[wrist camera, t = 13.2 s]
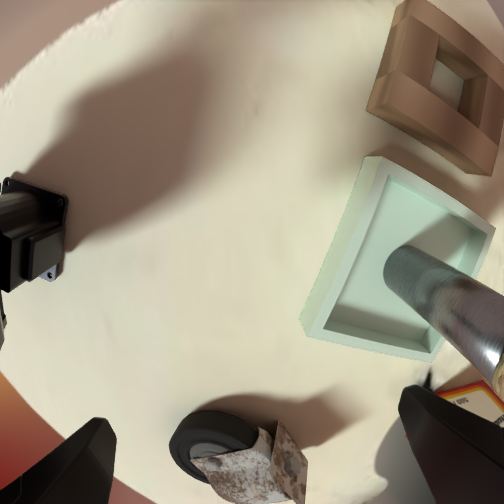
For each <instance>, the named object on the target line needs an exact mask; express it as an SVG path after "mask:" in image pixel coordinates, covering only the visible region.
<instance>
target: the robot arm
mask: <svg viewBox="0 0 504 504" xmlns="http://www.w3.org/2000/svg"><path fill="white" fill-rule="evenodd" d="M8 181H9V186H8ZM0 192H1V183H0ZM60 199H61V200H62V201H63V204H62V205H61V204H60ZM67 207H68V198H67V197H66V196H65V195H63V194H60V193H57V192H55V191H52V190H49V189H46V188H43V187H40V186H37V185H34V184H31V183H28V182H25V181H22V180H19V179H16V178H13V177H6V178H5V179H4V181H3V186H2V192H1V195H0V350H1V347H2V345H3V342H4V328H5V326H6V324H7V321H6V315H5V314H4V310H3V303H2V294H1V290H3V291H5V292H7V293H9V292H11V291H12V290H14V289H15V288H16V287H18V286H19V285H21V284H22V283H24V282H25V281H28V282H31V281H32V280H34V279H35V278H37V277H38V276H39V277H41V278H43V279H45V280H47V281H50V282H52V281H54V280H55V279H56V278H57V276H58V266H59V262H60V261H61V256H62V248H63V241H64V235H65V227H64V224H65V218H66V213H67ZM50 273H51V274H52V276H51V275H50ZM398 411H399V415H400V417H401V420H402V423H403V426H404V429H405V432H406V435H407V438H408V441H409V444H410V446H411V449H412V452H413V454H414V456H415V458H416V460H417V462H418V464H419V467H420V469H421V471H422V473H423V475H424V477H425V479H426V482H427V484H428V486H429V488H430V491H431V493H432V495H433V497H434V500H435V502H436V504H504V427H501V426H500V425H498V424H495V423H493V422H491V421H489V420H487V419H485V418H483V417H481V416H479V415H476V414H474V413H472V412H470V411H468V410H466V409H464V408H462V407H460V406H458V405H456V404H454V403H452V402H450V401H448V400H446V399H444V398H442V397H440V396H438V395H436V394H434V393H432V392H430V391H428V390H426V389H424V388H422V387H420V386H418V385H411V386H408V387H405V388H404V389H403V391H402V394H401V398H400V402H399V405H398ZM116 443H117V438H116V435H115V433H114V431H113V429H112V427H111V425H110V424H109V422H108V420H107V419H106V418H100V417H94V418H92V419H91V420H90V421H88V422H87V423H86V424H85V425H83V426H82V427H81V428H80V429H78V430H77V431H76V432H75V433H74V434H72V435H71V436H70V437H69V438H67V439H66V440H65V441H64V442H62V443H61V444H60V445H59V446H57V447H56V448H55V449H54V450H52V451H51V452H50V453H49V454H47V455H46V456H45V457H44V458H42V459H41V460H40V461H39V462H37V463H36V464H35V465H33V466H32V467H31V468H30V469H28V470H27V471H26V472H24V473H23V474H22V476H19V477H18V478H17V479H15V480H14V481H13V482H11V483H10V484H8V485H7V486H6V487H4V488H3V489H1V490H0V504H108V502H109V497H110V491H111V487H112V481H113V473H114V462H115V452H116Z"/></svg>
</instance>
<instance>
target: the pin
mask: <svg viewBox="0 0 504 504" xmlns="http://www.w3.org/2000/svg"><path fill="white" fill-rule="evenodd" d="M383 278H384V282H385V284H386V286H387V287H388V288H389V289H390V290H391V291H392V292H394V293H395V294H396V295H397V296H398V297H399V298H401V299H402V300H403V301H404V302H405V303H406V304H407V305H409V306H410V307H411V308H412V309H413V310H414V311H415V312H417V313H418V314H419V315H420V316H421V317H422V318H423V319H424V320H425V321H427V322H428V323H429V324H430V325H431V326H432V327H433V328H434V329H435V330H437V331H438V332H439V333H440V334H441V335H442V336H443V337H444V338H445V339H446V340H447V341H448V342H450V343H451V344H452V345H453V346H454V347H455V348H456V349H457V350H458V351H459V352H460V353H461V354H462V355H463V356H464V357H465V358H466V359H467V360H468V361H470V362H471V363H472V364H473V365H474V366H475V367H476V368H477V369H478V370H479V371H480V372H481V373H482V374H483V375H484V376H485V377H486V378H487V379H488V380H489V381H490V382H491V383H492V389H493V391H494V393H495V394H496V395H497V396H498V397H499V398H500V399H501V400H502V401H503V402H504V296H503V295H501V294H499V293H498V292H496V291H494V290H493V289H491V288H489V287H487V286H486V285H484V284H482V283H481V282H479V281H477V280H475V279H474V278H472V277H470V276H468V275H467V274H465V273H463V272H461V271H459V270H458V269H456V268H454V267H452V266H450V265H448V264H447V263H445V262H443V261H441V260H439V259H437V258H435V257H434V256H432V255H430V254H428V253H426V252H424V251H422V250H420V249H418V248H416V247H414V246H412V245H404V246H401V247H398V248H397V249H395V250H394V251H393V252H392V253H391V254H390V255H389V257H388V258H387V260H386V262H385V265H384V270H383Z"/></svg>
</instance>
